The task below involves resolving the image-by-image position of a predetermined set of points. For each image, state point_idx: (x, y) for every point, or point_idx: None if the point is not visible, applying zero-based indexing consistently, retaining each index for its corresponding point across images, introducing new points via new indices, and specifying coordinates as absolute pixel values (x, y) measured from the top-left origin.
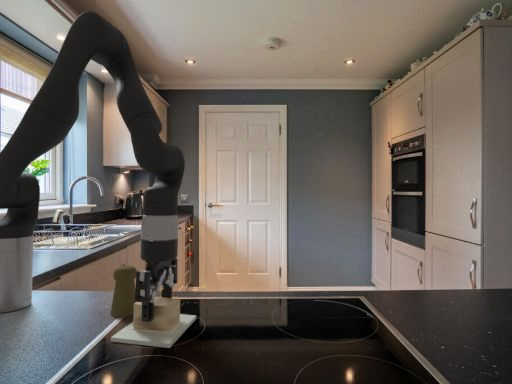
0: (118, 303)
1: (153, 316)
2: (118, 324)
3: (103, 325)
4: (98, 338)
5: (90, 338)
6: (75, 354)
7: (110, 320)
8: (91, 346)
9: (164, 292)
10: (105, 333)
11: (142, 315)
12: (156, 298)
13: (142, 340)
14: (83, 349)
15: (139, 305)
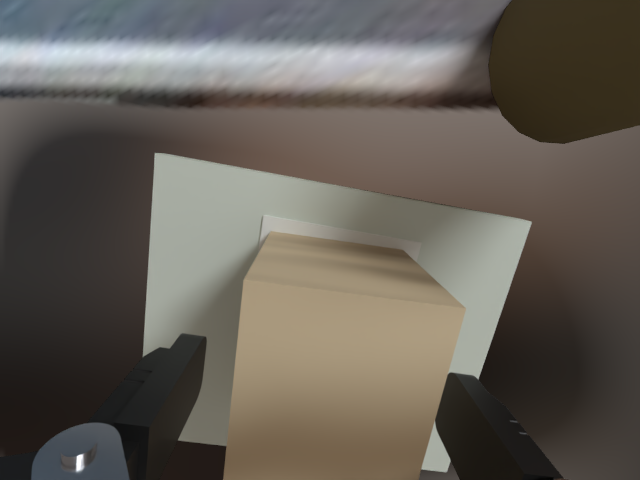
0: (571, 2)
1: (189, 411)
2: (381, 100)
3: (366, 9)
4: (192, 66)
5: (186, 17)
6: (3, 31)
7: (443, 19)
8: (99, 74)
9: (499, 471)
10: (257, 77)
11: (137, 368)
12: (399, 414)
13: (148, 321)
14: (60, 46)
15: (241, 326)
